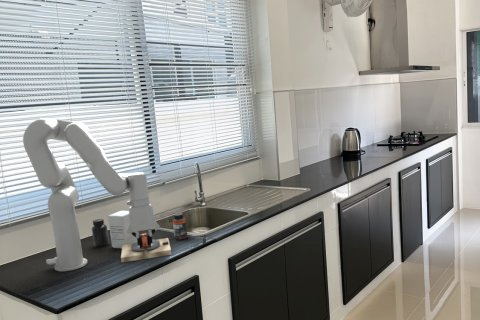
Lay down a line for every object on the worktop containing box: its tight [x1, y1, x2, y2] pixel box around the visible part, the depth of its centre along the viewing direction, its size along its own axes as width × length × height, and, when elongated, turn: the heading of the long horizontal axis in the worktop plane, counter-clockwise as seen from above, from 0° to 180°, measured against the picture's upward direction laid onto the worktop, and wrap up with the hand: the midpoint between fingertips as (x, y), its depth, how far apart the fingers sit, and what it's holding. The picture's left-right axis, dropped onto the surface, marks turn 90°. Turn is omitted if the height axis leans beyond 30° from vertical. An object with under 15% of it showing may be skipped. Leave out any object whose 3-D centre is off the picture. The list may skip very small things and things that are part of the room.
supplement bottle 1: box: [91, 218, 110, 248], centre depth 205 cm, size 7×7×12 cm
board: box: [120, 237, 172, 263], centre depth 190 cm, size 20×18×3 cm
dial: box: [131, 232, 160, 251], centre depth 189 cm, size 13×12×7 cm
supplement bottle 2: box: [172, 212, 188, 240], centre depth 205 cm, size 6×6×11 cm
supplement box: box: [107, 210, 137, 249], centre depth 202 cm, size 9×9×15 cm
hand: (145, 245), depth 185 cm, fingers closed on dial, 3 cm apart
